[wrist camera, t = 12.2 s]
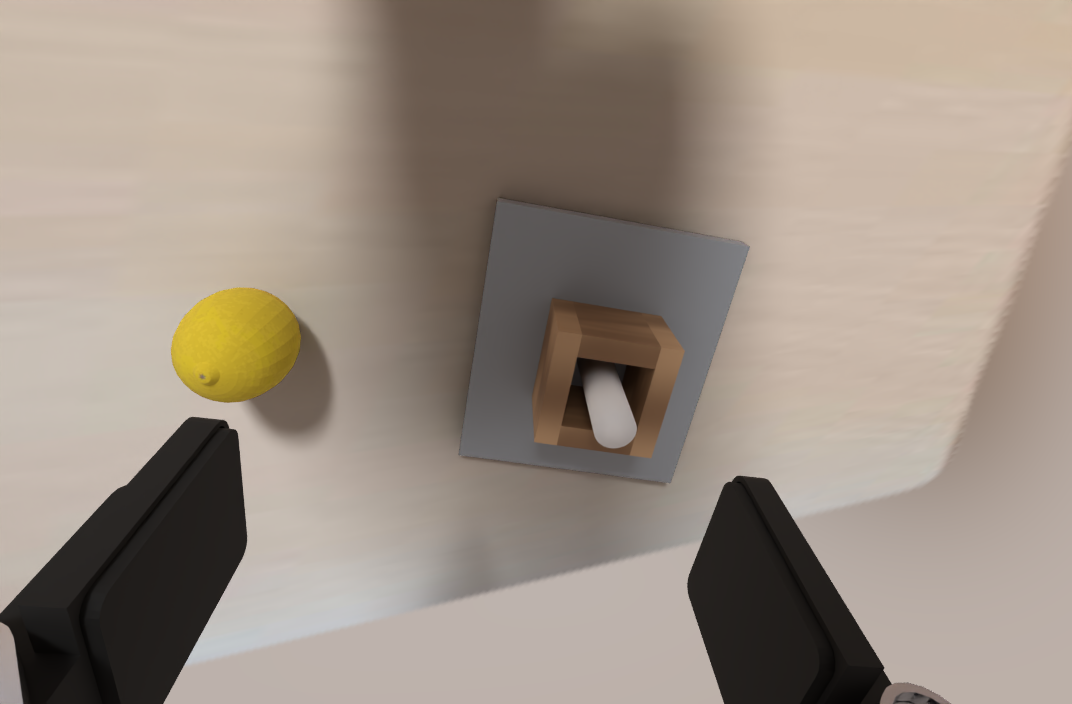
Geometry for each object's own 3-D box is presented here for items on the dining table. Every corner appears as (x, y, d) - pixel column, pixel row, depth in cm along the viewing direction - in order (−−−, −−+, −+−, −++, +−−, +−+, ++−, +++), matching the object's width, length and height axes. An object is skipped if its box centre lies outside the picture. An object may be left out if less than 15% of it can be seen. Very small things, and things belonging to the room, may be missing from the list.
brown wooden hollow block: (552, 298, 32) (558, 330, 28) (661, 316, 33) (684, 351, 28) (531, 396, 35) (534, 442, 30) (633, 411, 35) (651, 458, 31)
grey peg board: (497, 197, 31) (490, 234, 23) (741, 241, 32) (821, 291, 24) (460, 444, 37) (444, 545, 29) (666, 472, 39) (707, 576, 30)
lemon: (337, 313, 33) (288, 373, 26) (284, 376, 35) (223, 449, 28) (254, 250, 32) (177, 295, 24) (202, 319, 33) (114, 381, 26)
